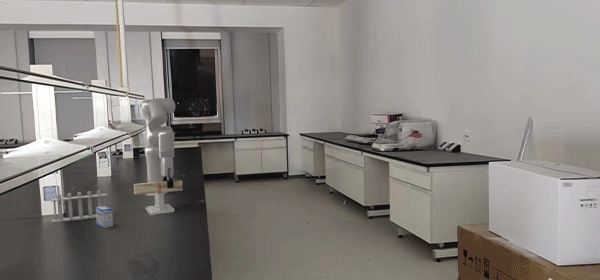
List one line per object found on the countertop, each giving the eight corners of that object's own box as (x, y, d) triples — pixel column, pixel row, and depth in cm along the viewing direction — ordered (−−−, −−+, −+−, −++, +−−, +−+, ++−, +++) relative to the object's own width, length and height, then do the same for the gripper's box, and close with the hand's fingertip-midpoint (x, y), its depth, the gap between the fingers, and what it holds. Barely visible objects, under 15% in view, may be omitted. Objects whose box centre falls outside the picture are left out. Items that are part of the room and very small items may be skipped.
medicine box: (96, 225, 204) (95, 207, 204) (106, 223, 208) (104, 205, 207) (103, 228, 199) (102, 209, 198) (113, 226, 202) (112, 208, 201)
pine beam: (134, 193, 226) (133, 184, 226) (180, 189, 237) (180, 179, 237) (135, 195, 222) (134, 185, 222) (182, 190, 234) (182, 180, 233)
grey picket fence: (51, 223, 211) (50, 196, 210) (52, 220, 215) (50, 194, 214) (108, 216, 221) (106, 190, 220) (108, 214, 225) (106, 189, 224)
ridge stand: (145, 209, 234) (144, 191, 233) (168, 206, 240) (167, 188, 239) (150, 215, 222) (149, 195, 221) (174, 211, 227) (173, 192, 227)
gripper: (156, 153, 236) (157, 184, 238) (163, 156, 221) (164, 190, 223) (170, 152, 240) (171, 183, 241) (178, 155, 225) (179, 188, 226)
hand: (168, 186), depth 232 cm, fingers open, 9 cm apart
